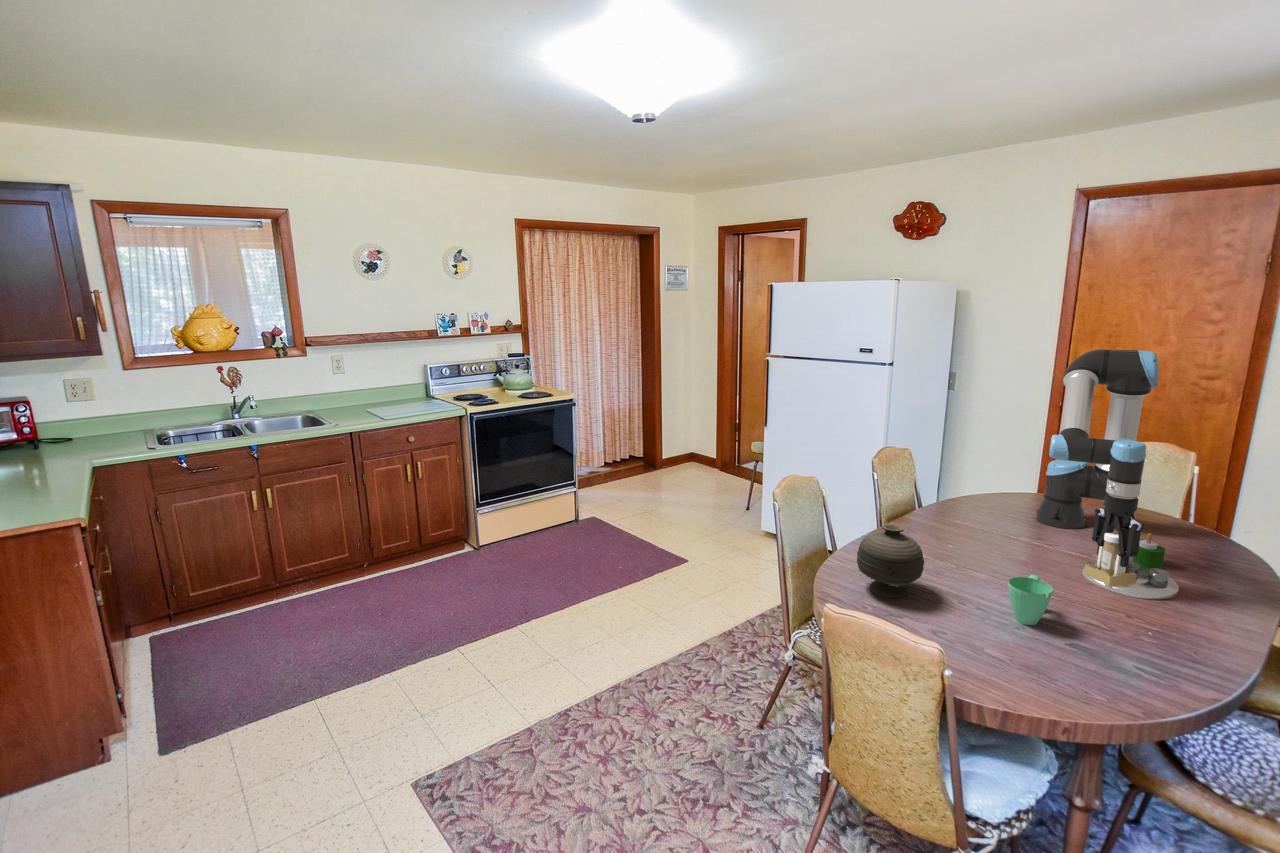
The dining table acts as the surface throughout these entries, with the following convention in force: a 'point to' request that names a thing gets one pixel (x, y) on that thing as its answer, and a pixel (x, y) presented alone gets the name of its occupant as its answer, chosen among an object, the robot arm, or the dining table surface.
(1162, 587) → the carrier
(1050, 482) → the robot arm
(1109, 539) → the sprinkles bottle
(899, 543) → the pot
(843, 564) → the dining table surface
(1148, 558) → the candle
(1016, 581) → the mug
